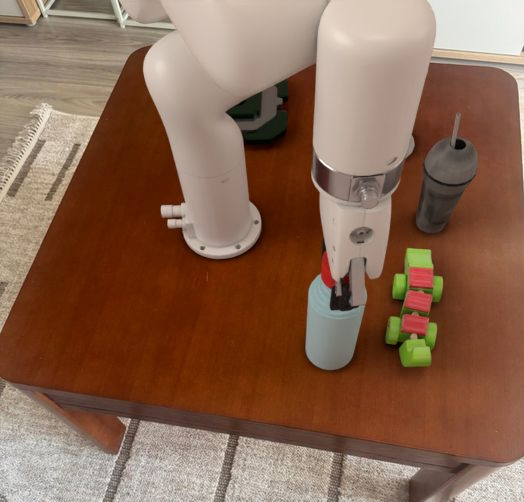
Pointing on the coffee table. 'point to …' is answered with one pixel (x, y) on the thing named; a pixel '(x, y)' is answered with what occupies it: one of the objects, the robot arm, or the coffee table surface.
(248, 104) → the four-lobed dark green device
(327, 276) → the cap
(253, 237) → the robot arm
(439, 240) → the coffee table surface
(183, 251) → the coffee table surface
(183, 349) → the coffee table surface
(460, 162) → the beverage cup
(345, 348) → the bottle
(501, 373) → the coffee table surface
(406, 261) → the toy crocodile
